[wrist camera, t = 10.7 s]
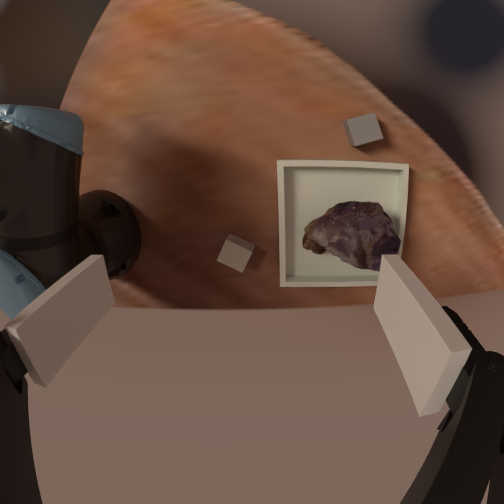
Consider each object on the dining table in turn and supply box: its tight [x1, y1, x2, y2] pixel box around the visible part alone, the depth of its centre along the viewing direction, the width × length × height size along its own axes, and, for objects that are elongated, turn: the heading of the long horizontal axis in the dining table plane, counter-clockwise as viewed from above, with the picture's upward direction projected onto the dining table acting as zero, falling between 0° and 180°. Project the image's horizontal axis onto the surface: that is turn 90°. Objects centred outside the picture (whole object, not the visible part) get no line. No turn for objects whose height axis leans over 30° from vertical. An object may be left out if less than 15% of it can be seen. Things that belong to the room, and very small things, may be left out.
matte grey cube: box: [217, 234, 255, 273], centre depth 42 cm, size 4×4×3 cm
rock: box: [302, 201, 401, 272], centre depth 36 cm, size 12×9×10 cm
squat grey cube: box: [342, 113, 383, 146], centre depth 34 cm, size 4×4×3 cm
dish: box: [277, 159, 409, 287], centre depth 39 cm, size 18×18×2 cm
